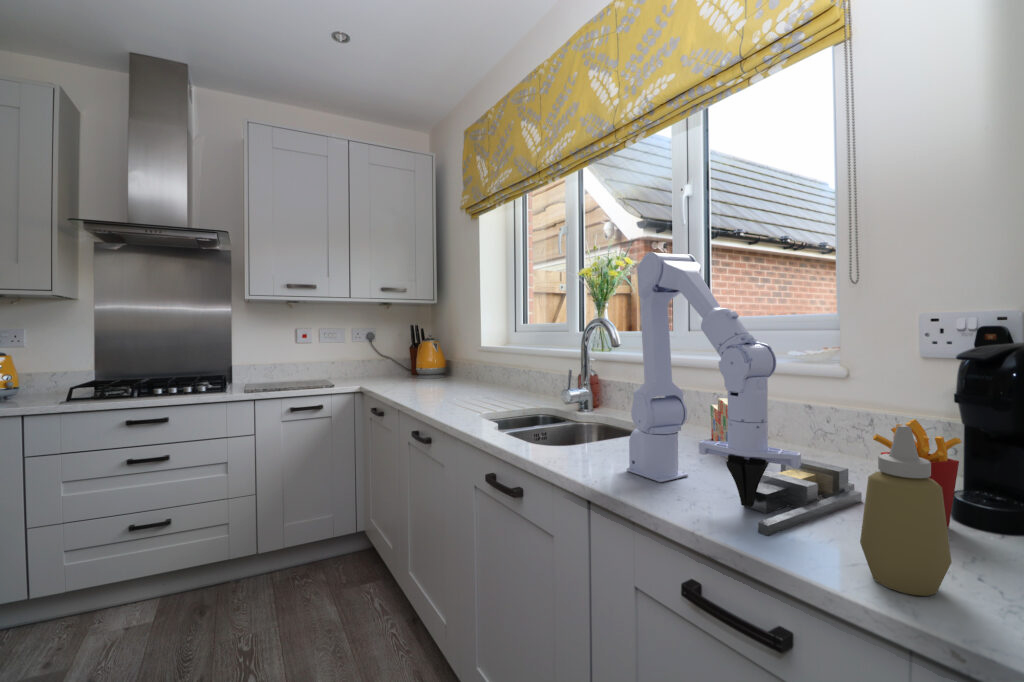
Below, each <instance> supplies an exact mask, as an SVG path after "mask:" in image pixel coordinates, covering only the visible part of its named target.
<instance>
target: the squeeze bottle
mask: <svg viewBox="0 0 1024 682" xmlns="http://www.w3.org/2000/svg"><path fill="white" fill-rule="evenodd" d="M893 437H894V440H893V441H892V442H893V443H892V447H891V449H890V450H889V452H890V454H881V453H880V454H879V455H878V456H877V464H878V465H877V469H878V470H879V471H875V472H873V473H871V474H870V475H869V476H867V485H866V492H865V493H866V494H865V500H864V508H863V517H862V524H861V529H860V531H861V532H860V540H859V543H860V546H861V549H862V552H863V554H864V557H865V560H866V563H867V566H868V569H869V572H870V574H871V576H872V578H873V579H874V581H876V582H878V583H879V584H880V585H883V586H884V587H886V588H888V589H891V590H894V591H896V592H899V593H903V594H908V595H913V596H922V597H923V596H924V597H925V596H926V597H928V596H933V595H936V594H937V592H938V591H939V589H940V587H941V585H942V583H943V581H944V579H945V577H946V574H948V570H949V568H950V566H951V564H952V557H951V555H952V554H951V550H950V549H951V548H950V540H949V533H948V528H947V523H946V515H945V507H944V499H943V491H942V487H941V486H940V485H939V484H938V483H937V482H935V481H934V480H933V479H930V478H928V477H930V476H931V462H930V461H928V460H926V459H924V458H920V457H919V456H918V453H917V449H916V445H915V441H916V440H915V438H914V434H913V433H912V430H911V427H909V426H906V425H903V426H897V429H896V433H895V436H894V435H893ZM914 440H915V441H914Z"/></svg>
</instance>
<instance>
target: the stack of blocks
mask: <svg viewBox="0 0 1024 682" xmlns="http://www.w3.org/2000/svg"><path fill="white" fill-rule="evenodd" d="M710 428H711V429H710V430H711V434H710V435H711V439H713V440H712V441H718V442H728V397H727V398H726V397H725V398H724V397H720V398H719V397H717V404H710ZM725 457H726V459H728V457H727V456H725Z"/></svg>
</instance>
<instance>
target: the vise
mask: <svg viewBox="0 0 1024 682" xmlns="http://www.w3.org/2000/svg"><path fill="white" fill-rule="evenodd" d="M791 469H795V470H799V471H803V472H807V473H811V474H815V475H816V483H818V497H819V496H820V497H823V498H824V499H821V500H818V502H815V503H812V504H809V505H806V506H803V507H800V508H794V509H791V510H790V511H786V512H783V513H780V514H777V515H775V516H772V517H769V518H764V519H762V520H760V521H758V522H757V533H758V534H762V535H764V536H766V537H769V536H772V535H775V534H777V533H781V532H784V531H786V530H788V529H791V528H793V527H797V526H799V525H802V524H804V523H807V522H810V521H812V520H814V519H815V520H816V519H817V518H820V517H824V516H826V515H828V514H831V513H834V512H836V511H838V510H841V509H845V508H847V507H849V506H852V505H856V504H857V503H860V502H862V494H863V493H862V491H857V490H855V483H851V482H849V468H847V467H841V466H838V465H832V464H829V463H823V462H820V461H816V460H815V461H814V460H810V459H805V458H802V457H801V466H800V467H799V468H795V467H791V466H789V465H782V464H780V472H783V471H787V470H791Z"/></svg>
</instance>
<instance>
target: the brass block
mask: <svg viewBox="0 0 1024 682" xmlns="http://www.w3.org/2000/svg"><path fill="white" fill-rule="evenodd" d="M778 473H779V474H783V475H787V476H790V477H794V478H798V479H802V480H806V481H810V482H814V483H816V475H815V474H811V473H807V472H803V471H799V470H795V469H791V470H787V471H783V472H781V471H780V472H779V471H778Z"/></svg>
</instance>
